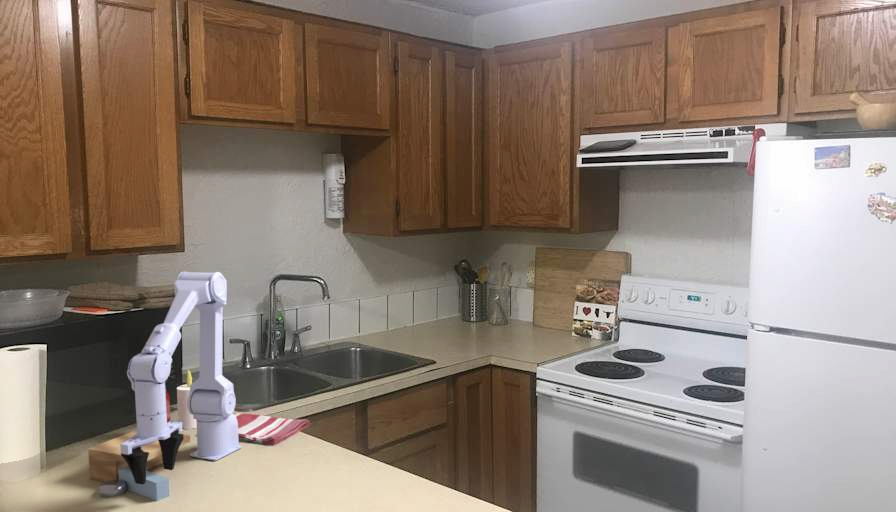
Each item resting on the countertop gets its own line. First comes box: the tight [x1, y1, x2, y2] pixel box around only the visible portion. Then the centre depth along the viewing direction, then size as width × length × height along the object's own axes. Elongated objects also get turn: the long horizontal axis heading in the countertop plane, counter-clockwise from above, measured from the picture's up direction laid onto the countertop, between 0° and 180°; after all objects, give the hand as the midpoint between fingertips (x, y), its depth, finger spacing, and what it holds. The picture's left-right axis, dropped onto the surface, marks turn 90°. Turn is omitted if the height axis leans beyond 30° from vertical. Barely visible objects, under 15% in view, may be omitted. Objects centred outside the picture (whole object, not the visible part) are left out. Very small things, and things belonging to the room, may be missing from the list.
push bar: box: [118, 466, 170, 502], centre depth 149 cm, size 3×14×4 cm, turn 56°
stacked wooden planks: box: [87, 429, 191, 482], centre depth 159 cm, size 15×14×7 cm
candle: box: [176, 369, 197, 430], centre depth 190 cm, size 6×6×15 cm
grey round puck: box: [98, 480, 127, 499], centre depth 148 cm, size 5×5×2 cm
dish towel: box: [233, 412, 310, 446], centre depth 186 cm, size 17×23×3 cm
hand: (154, 475), depth 146 cm, fingers open, 7 cm apart
